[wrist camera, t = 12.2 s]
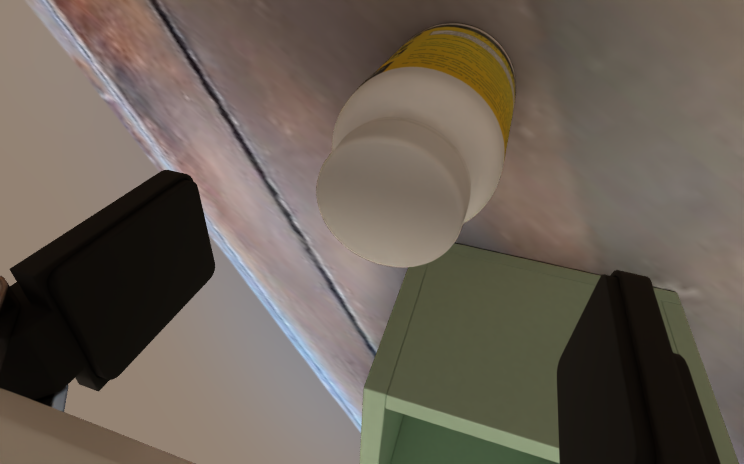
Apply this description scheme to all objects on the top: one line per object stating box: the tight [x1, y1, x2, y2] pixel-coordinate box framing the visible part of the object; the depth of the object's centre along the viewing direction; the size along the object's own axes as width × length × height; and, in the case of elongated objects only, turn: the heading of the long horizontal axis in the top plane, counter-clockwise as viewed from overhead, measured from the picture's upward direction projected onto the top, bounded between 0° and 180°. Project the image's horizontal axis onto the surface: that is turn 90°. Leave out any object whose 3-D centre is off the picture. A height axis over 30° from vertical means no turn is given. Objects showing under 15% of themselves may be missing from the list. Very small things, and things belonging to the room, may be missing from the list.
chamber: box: [360, 243, 739, 464], centre depth 23 cm, size 16×13×10 cm
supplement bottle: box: [316, 23, 516, 268], centre depth 15 cm, size 5×5×10 cm
